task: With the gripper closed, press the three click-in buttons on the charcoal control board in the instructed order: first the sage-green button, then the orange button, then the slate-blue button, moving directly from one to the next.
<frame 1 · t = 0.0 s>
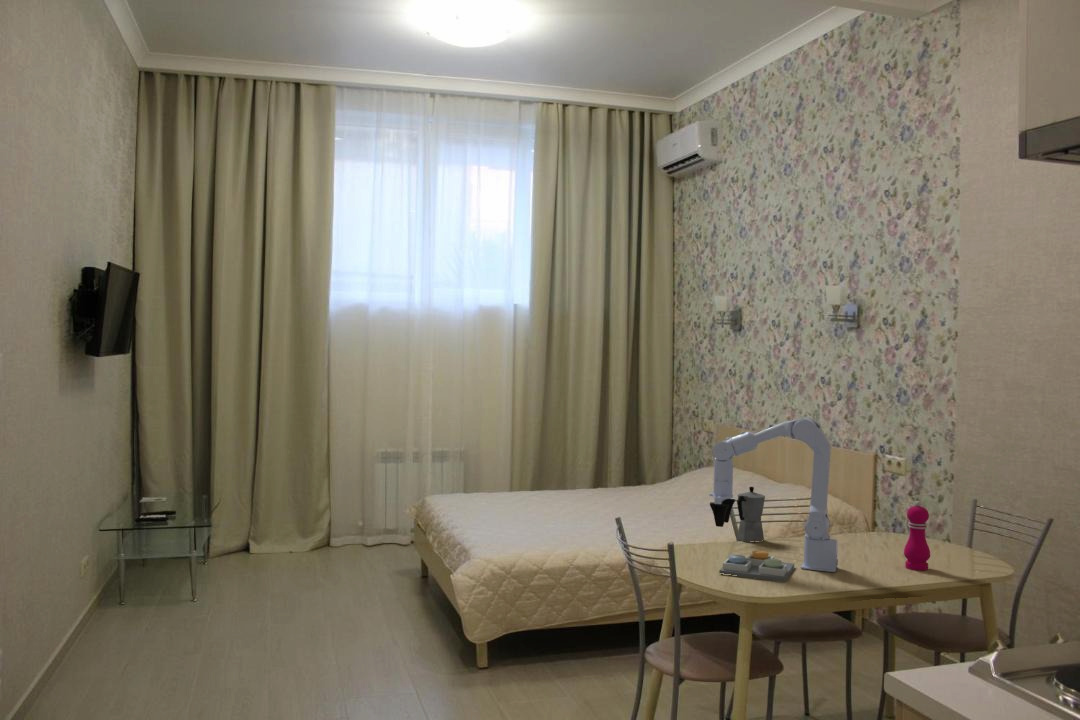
hand: (722, 524, 267), 10 cm above the table, fingers open, 7 cm apart
button blue: (737, 559, 249), point 4 cm above the table, slide at 0.0 cm
control board: (757, 571, 251), on the table
pepper mill: (916, 569, 258), on the table
button orange: (760, 555, 255), point 4 cm above the table, slide at 0.0 cm
coffeepot: (748, 540, 294), on the table
button sage: (773, 563, 245), point 4 cm above the table, slide at 0.0 cm
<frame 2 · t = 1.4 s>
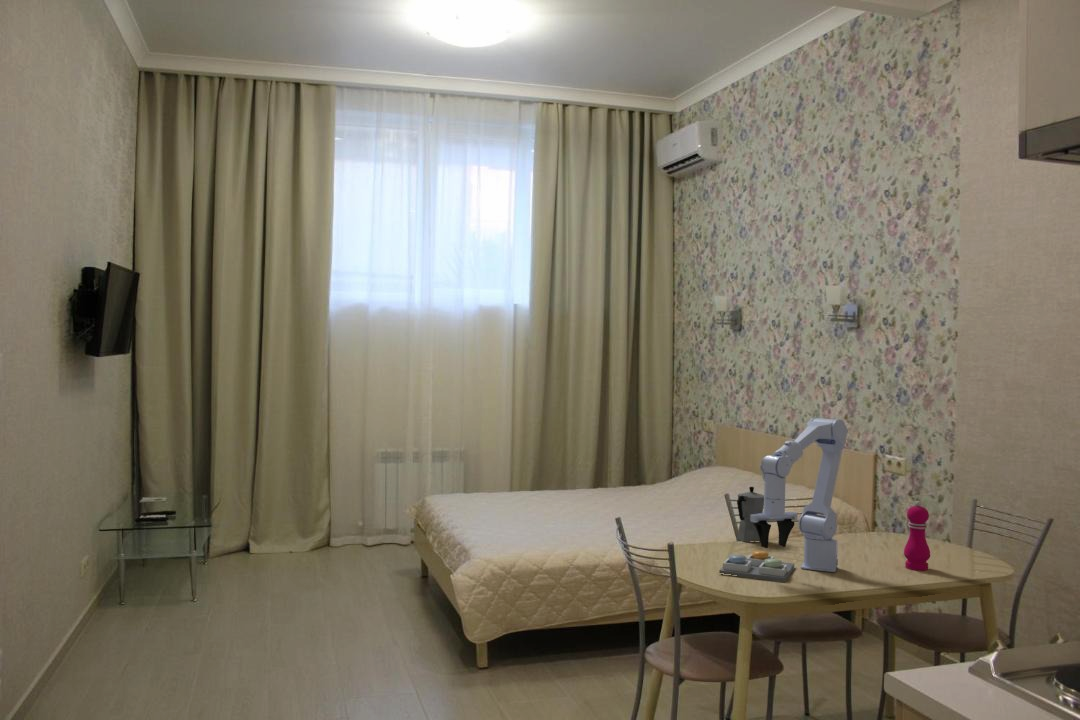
hand: (773, 546, 245), 8 cm above the table, fingers open, 5 cm apart
nothing on the table moved.
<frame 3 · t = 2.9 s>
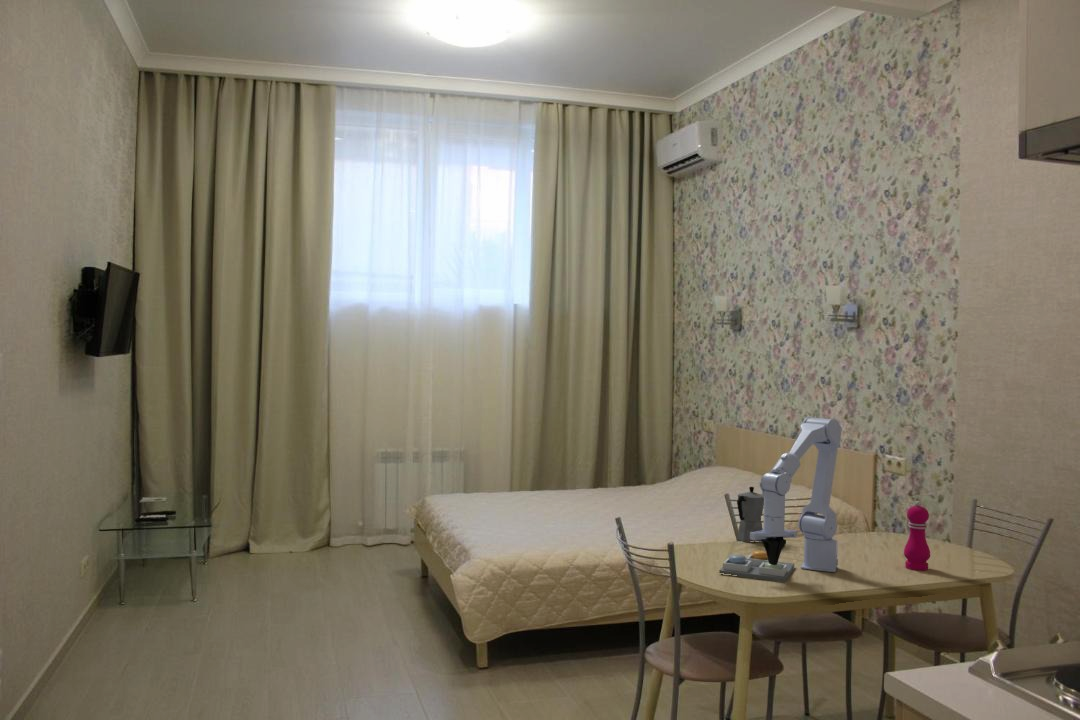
hand: (773, 564, 245), 3 cm above the table, fingers closed, pressing on button sage
button sage: (773, 567, 245), point 3 cm above the table, slide at 1.0 cm, touching gripper
everything else where it was.
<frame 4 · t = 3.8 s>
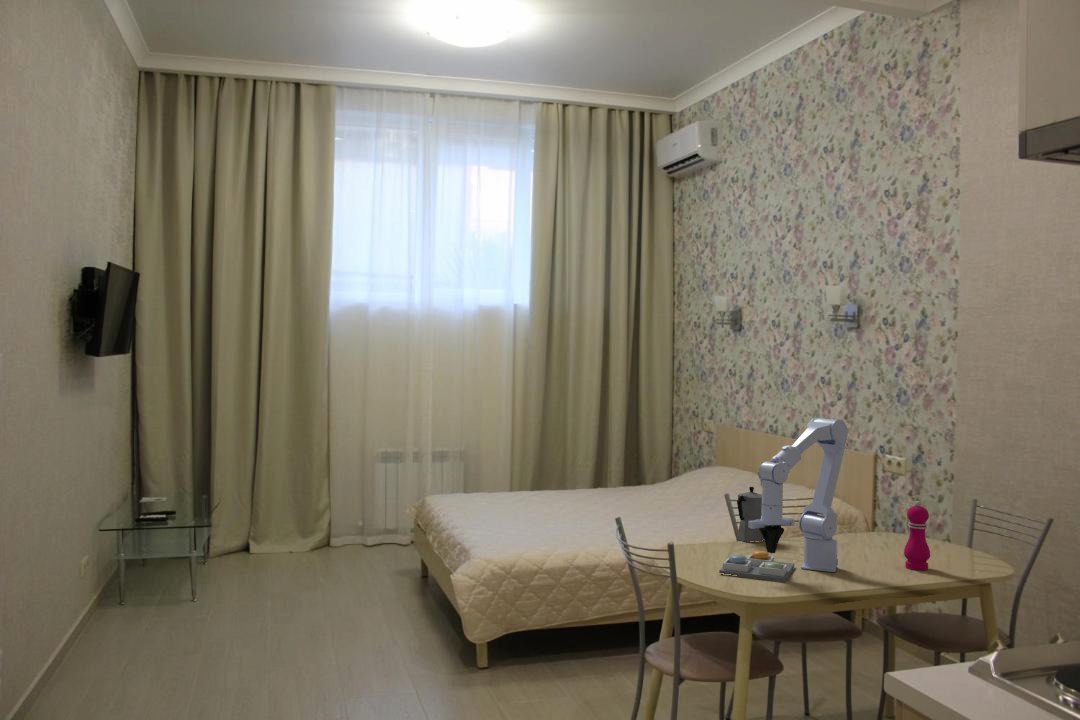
hand: (771, 552, 247), 6 cm above the table, fingers closed
button sage: (773, 567, 245), point 3 cm above the table, slide at 1.0 cm
everything else where it was.
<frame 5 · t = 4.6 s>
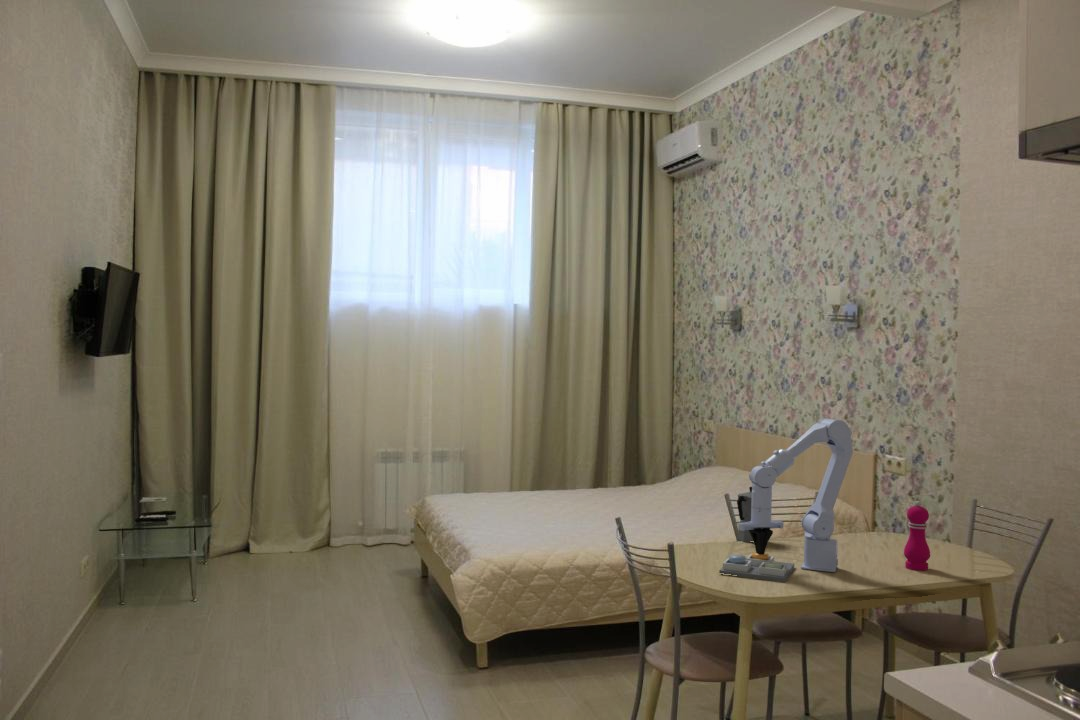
hand: (760, 553, 255), 4 cm above the table, fingers closed, pressing on button orange
button orange: (760, 556, 255), point 3 cm above the table, slide at 0.4 cm, touching gripper
everything else where it was.
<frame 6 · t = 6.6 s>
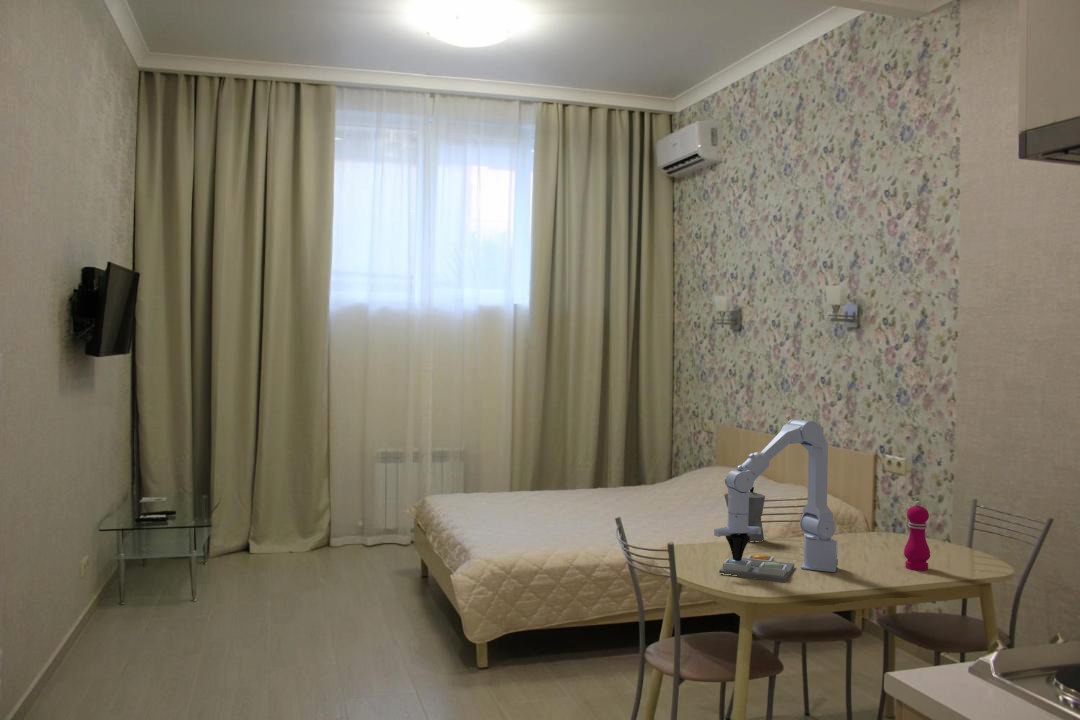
hand: (737, 560, 249), 3 cm above the table, fingers closed, pressing on button blue
button blue: (737, 563, 249), point 3 cm above the table, slide at 1.0 cm, touching gripper
button orange: (760, 558, 255), point 3 cm above the table, slide at 1.0 cm
everything else where it was.
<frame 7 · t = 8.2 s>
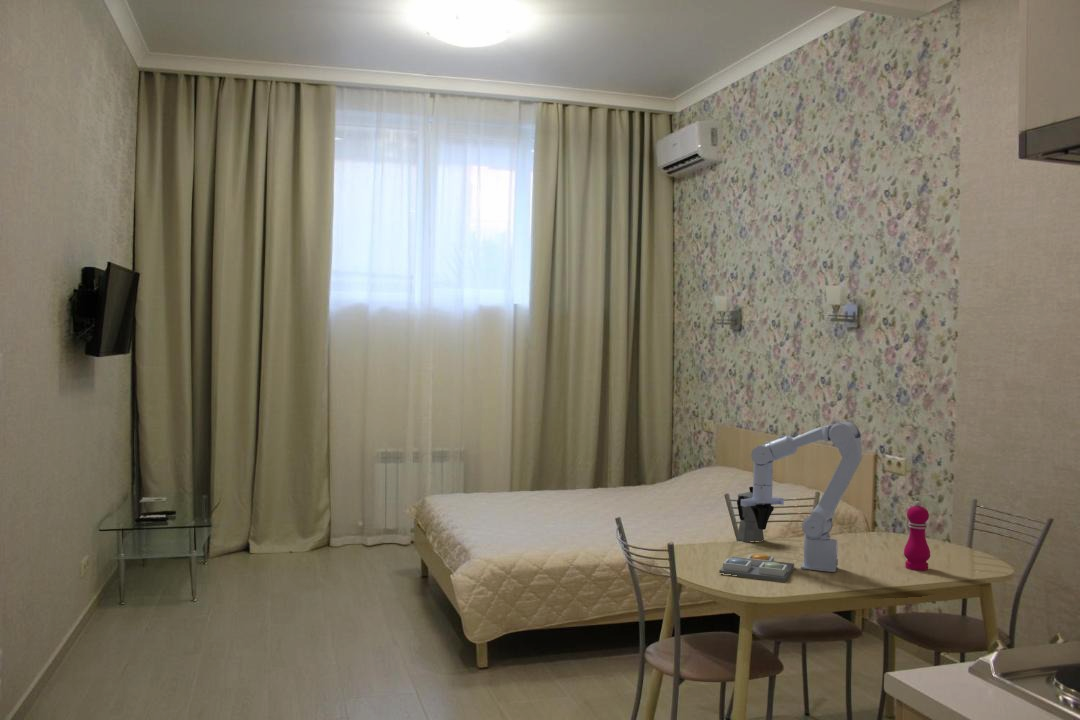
hand: (761, 529, 266), 9 cm above the table, fingers closed
button blue: (737, 563, 249), point 3 cm above the table, slide at 1.0 cm
everything else where it was.
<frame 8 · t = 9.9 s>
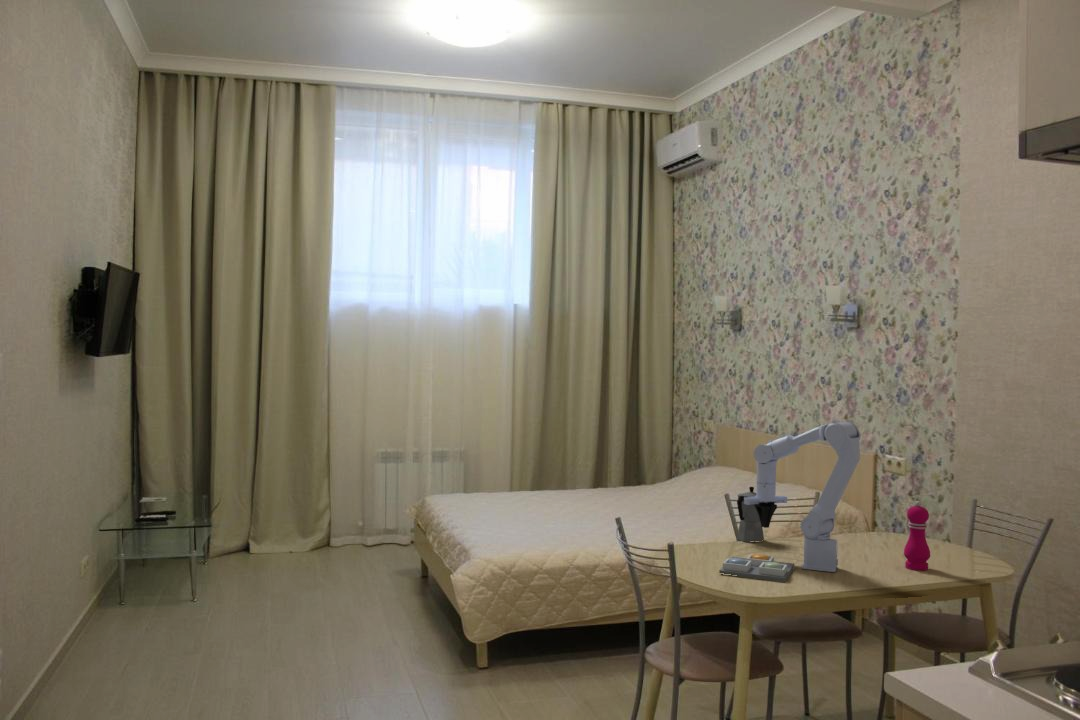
hand: (765, 527, 268), 9 cm above the table, fingers closed
nothing on the table moved.
at the end: button sage slide at 1.0 cm; button orange slide at 1.0 cm; button blue slide at 1.0 cm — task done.
